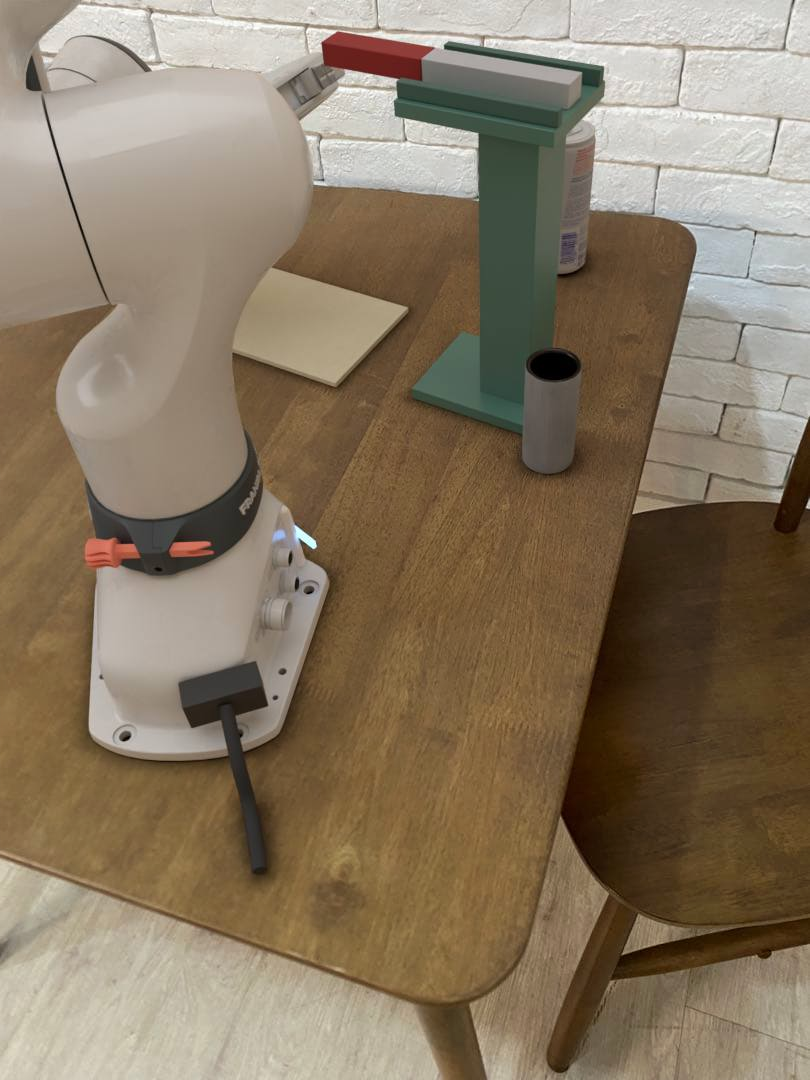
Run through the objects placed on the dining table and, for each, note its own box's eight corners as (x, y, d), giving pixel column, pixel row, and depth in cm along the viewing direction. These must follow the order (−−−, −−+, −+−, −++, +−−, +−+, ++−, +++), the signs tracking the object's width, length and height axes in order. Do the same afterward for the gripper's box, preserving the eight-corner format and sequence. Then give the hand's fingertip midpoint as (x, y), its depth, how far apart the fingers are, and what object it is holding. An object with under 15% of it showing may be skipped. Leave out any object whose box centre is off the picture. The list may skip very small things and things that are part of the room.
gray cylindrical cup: (513, 466, 83) (516, 373, 75) (533, 434, 85) (538, 341, 78) (561, 480, 81) (569, 387, 74) (580, 448, 84) (590, 354, 76)
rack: (580, 376, 90) (610, 60, 69) (535, 439, 85) (552, 117, 63) (461, 341, 95) (454, 35, 74) (412, 398, 90) (388, 86, 68)
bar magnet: (581, 97, 68) (583, 71, 66) (567, 110, 66) (569, 84, 65) (340, 54, 76) (337, 30, 74) (323, 65, 74) (320, 41, 73)
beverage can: (584, 249, 105) (595, 115, 94) (585, 277, 102) (597, 141, 90) (534, 249, 106) (539, 116, 95) (533, 277, 102) (539, 142, 91)
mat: (408, 312, 99) (408, 307, 99) (336, 387, 92) (335, 383, 91) (231, 259, 109) (230, 255, 108) (151, 324, 101) (150, 320, 100)
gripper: (116, 162, 81) (205, 103, 71) (257, 70, 92) (351, 9, 82) (160, 227, 84) (252, 180, 74) (292, 131, 95) (387, 78, 85)
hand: (306, 89), depth 78 cm, fingers open, 8 cm apart
